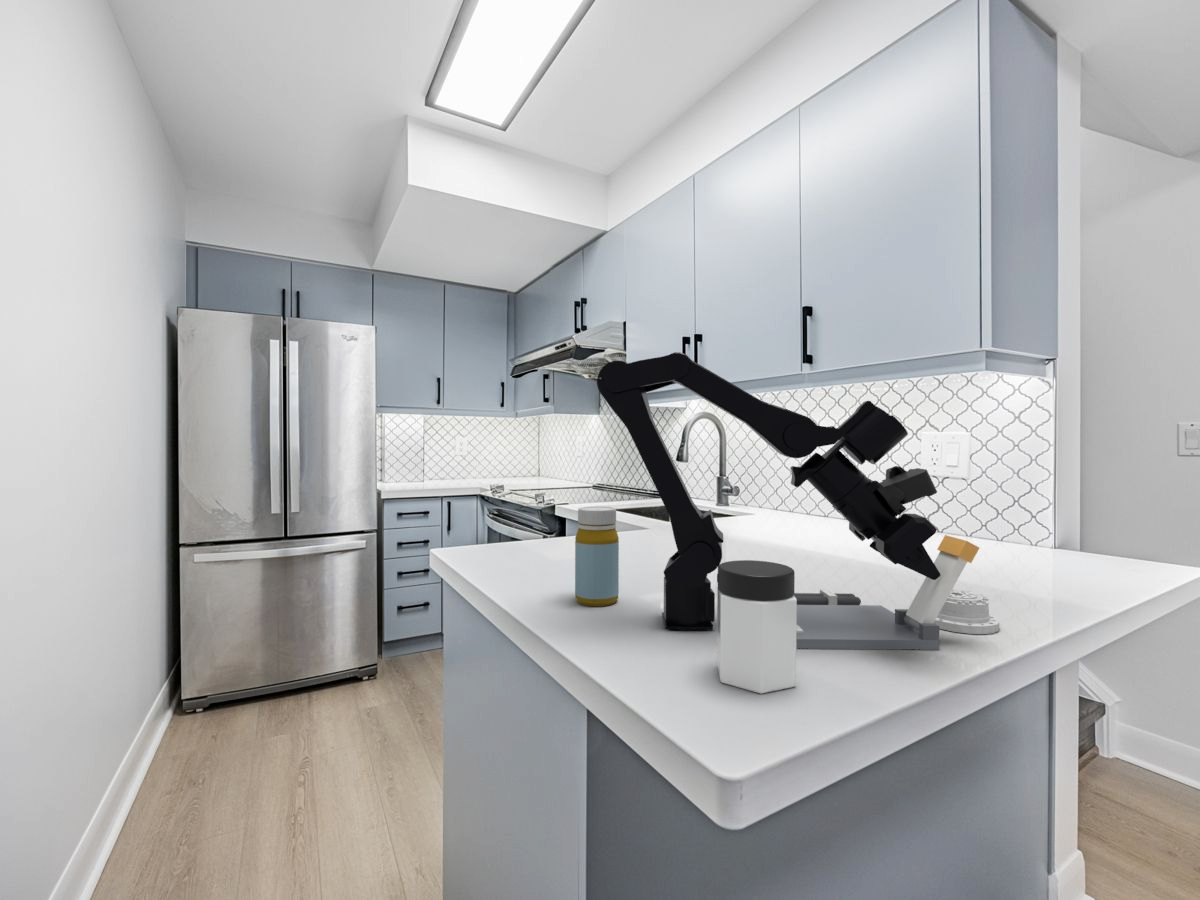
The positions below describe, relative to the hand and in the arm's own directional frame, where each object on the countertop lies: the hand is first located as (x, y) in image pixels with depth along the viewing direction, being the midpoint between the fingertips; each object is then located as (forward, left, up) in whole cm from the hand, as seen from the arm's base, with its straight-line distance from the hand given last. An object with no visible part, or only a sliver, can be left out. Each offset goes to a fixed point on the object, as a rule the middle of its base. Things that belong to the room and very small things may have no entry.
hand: (934, 575), depth 73 cm
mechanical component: (+7, +7, -9) cm, 14 cm away
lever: (-2, 0, -6) cm, 7 cm away
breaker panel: (-12, +4, -8) cm, 15 cm away
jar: (-26, -12, -9) cm, 30 cm away
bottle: (-44, +17, -9) cm, 48 cm away
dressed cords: (-12, +15, -8) cm, 21 cm away
